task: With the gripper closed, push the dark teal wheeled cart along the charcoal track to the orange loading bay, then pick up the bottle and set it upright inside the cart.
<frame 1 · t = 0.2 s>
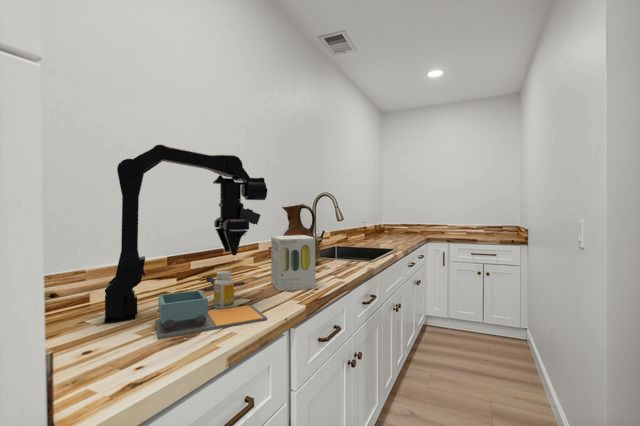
hand: (230, 253, 95), 14 cm above the table, fingers open, 9 cm apart
ceramic pitcher: (299, 264, 162), on the table
cart: (182, 309, 76), point 4 cm above the table, slide at 0.0 cm
supplement bottle: (224, 306, 92), on the table
supplement box: (292, 286, 116), on the table
bracket: (216, 286, 119), on the table
track: (211, 321, 80), on the table
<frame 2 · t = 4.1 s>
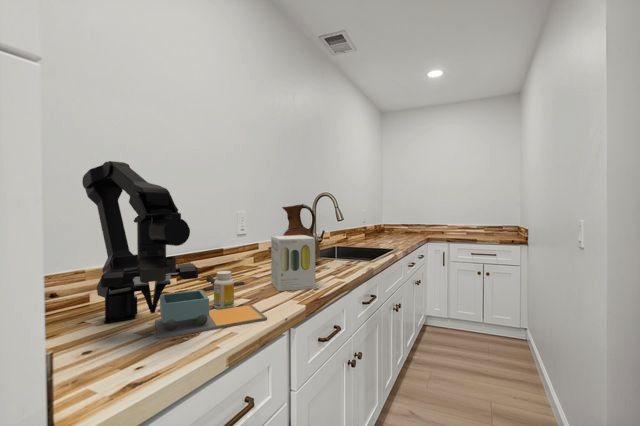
hand: (152, 312, 73), 4 cm above the table, fingers closed
cart: (183, 308, 77), point 4 cm above the table, slide at 0.3 cm, touching gripper
everything else where it was.
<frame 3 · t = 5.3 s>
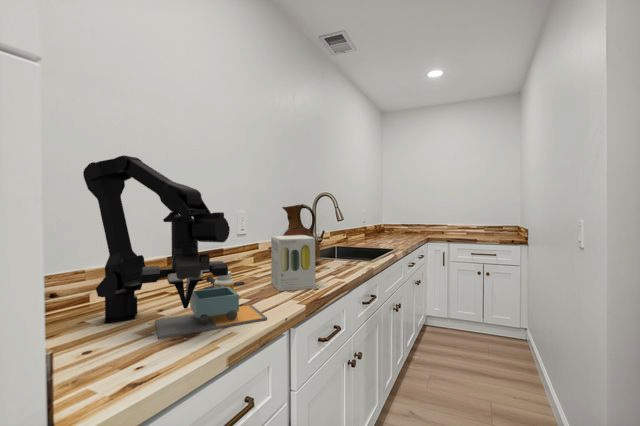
hand: (185, 308, 77), 4 cm above the table, fingers closed
cart: (214, 304, 80), point 4 cm above the table, slide at 7.1 cm, touching gripper
everything else where it was.
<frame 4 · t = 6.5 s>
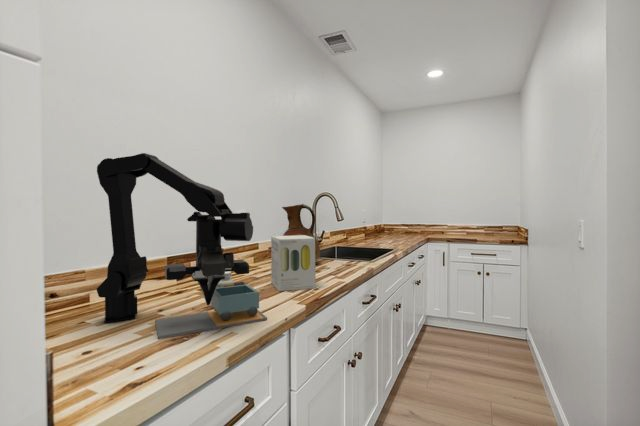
hand: (208, 304, 79), 4 cm above the table, fingers closed
cart: (234, 301, 82), point 4 cm above the table, slide at 12.1 cm, touching gripper
everything else where it was.
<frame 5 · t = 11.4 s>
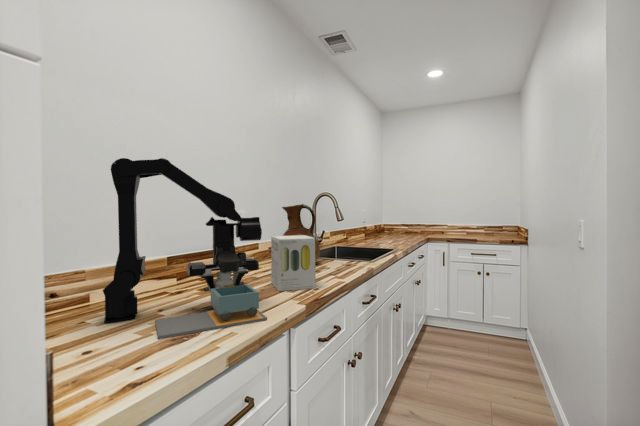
hand: (224, 297, 92), 3 cm above the table, fingers closed on supplement bottle, 5 cm apart
cart: (234, 301, 82), point 4 cm above the table, slide at 12.0 cm
supplement bottle: (224, 306, 92), on the table, touching gripper
everything else where it was.
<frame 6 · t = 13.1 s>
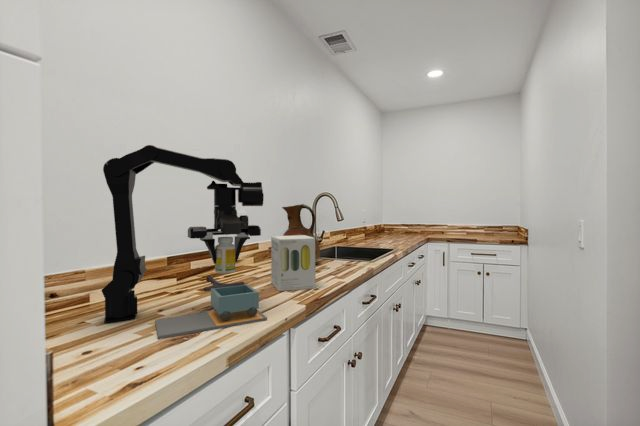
hand: (225, 262, 90), 12 cm above the table, fingers closed on supplement bottle, 5 cm apart
supplement bottle: (225, 272, 90), point 10 cm above the table, touching gripper
everything else where it was.
when the fingers open (8 cm above the table, at t = 14.9 s): supplement bottle drops 1 cm, resting on cart.
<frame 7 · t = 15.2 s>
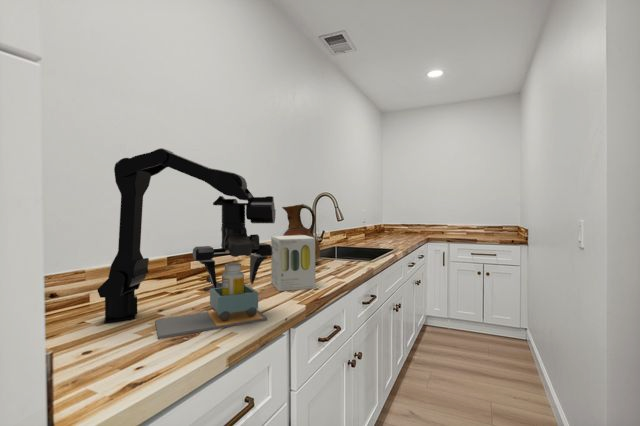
hand: (233, 285, 82), 8 cm above the table, fingers open, 9 cm apart
cart: (233, 301, 82), point 4 cm above the table, slide at 11.9 cm, touching supplement bottle
supplement bottle: (233, 303, 82), point 4 cm above the table, touching cart
everything else where it was.
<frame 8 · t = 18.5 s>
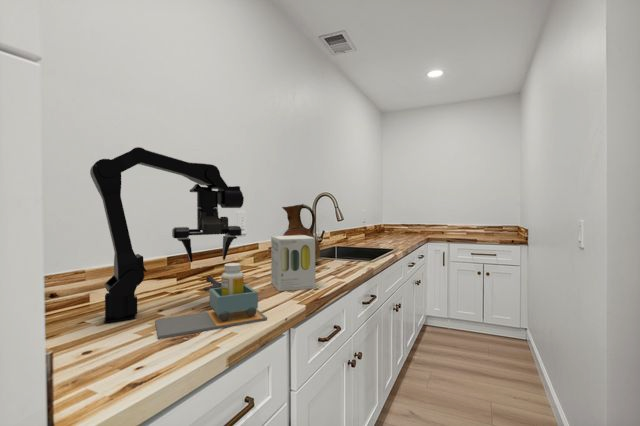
hand: (207, 261, 96), 12 cm above the table, fingers open, 9 cm apart
nothing on the table moved.
at the end: cart slide at 11.8 cm; supplement bottle inside the target area (0.3 cm from its centre), point 3.6 cm above the table; supplement bottle tilted 0° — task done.
